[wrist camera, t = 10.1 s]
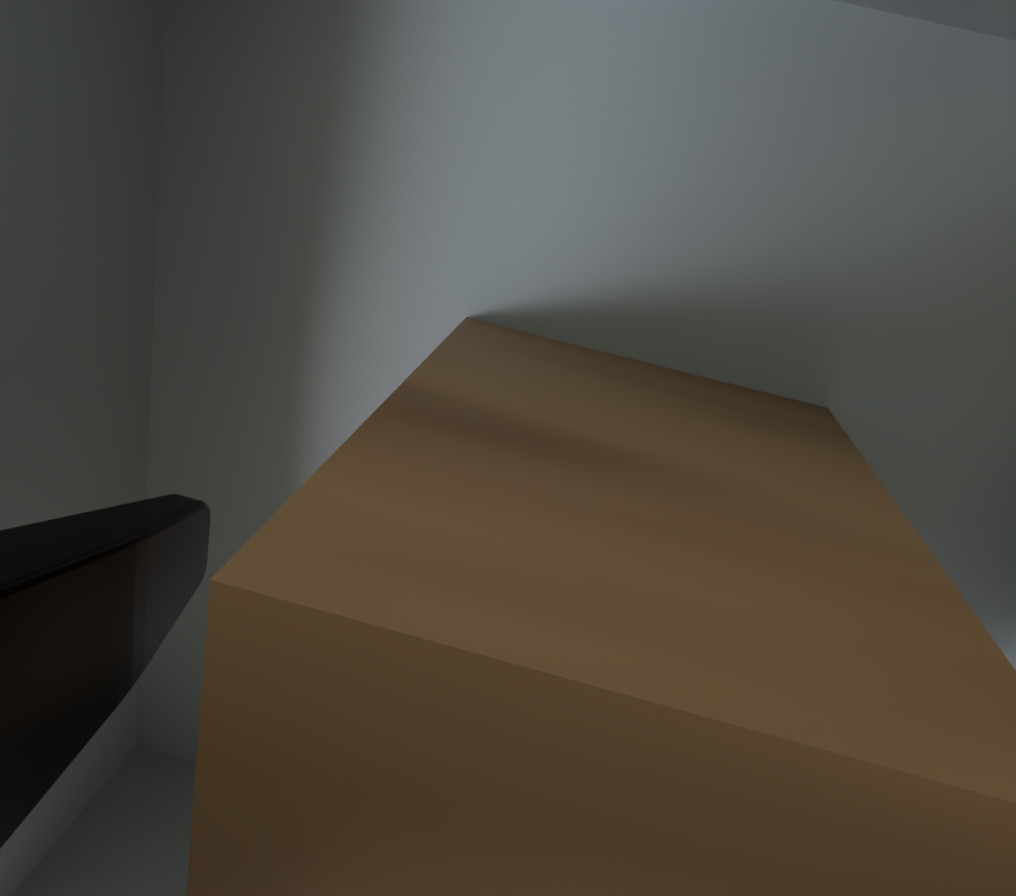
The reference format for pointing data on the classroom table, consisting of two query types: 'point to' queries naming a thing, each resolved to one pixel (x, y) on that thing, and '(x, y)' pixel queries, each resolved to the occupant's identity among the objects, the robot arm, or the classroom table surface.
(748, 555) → the tan wooden block
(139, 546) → the robot arm
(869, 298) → the bin
